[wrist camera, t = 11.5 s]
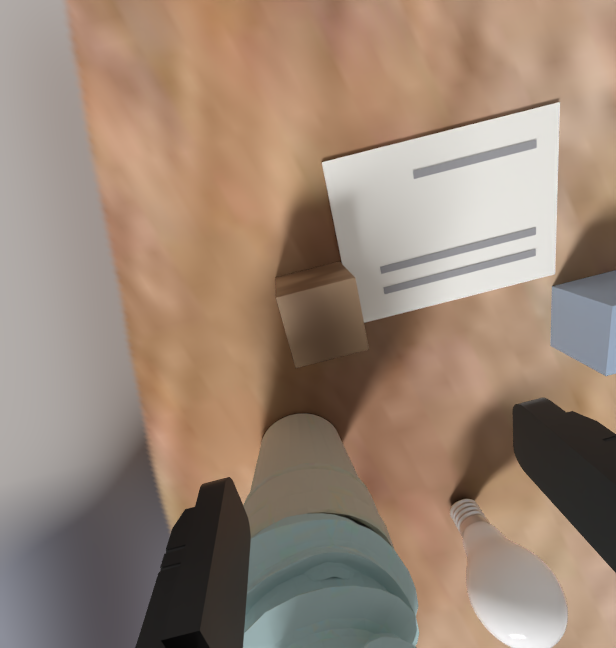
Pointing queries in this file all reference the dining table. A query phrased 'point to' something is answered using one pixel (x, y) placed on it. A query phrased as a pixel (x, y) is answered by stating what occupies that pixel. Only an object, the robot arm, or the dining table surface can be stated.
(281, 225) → the dining table surface
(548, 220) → the letter
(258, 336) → the dining table surface
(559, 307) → the cube
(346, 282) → the walnut block
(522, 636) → the lightbulb
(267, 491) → the ice cream cone
